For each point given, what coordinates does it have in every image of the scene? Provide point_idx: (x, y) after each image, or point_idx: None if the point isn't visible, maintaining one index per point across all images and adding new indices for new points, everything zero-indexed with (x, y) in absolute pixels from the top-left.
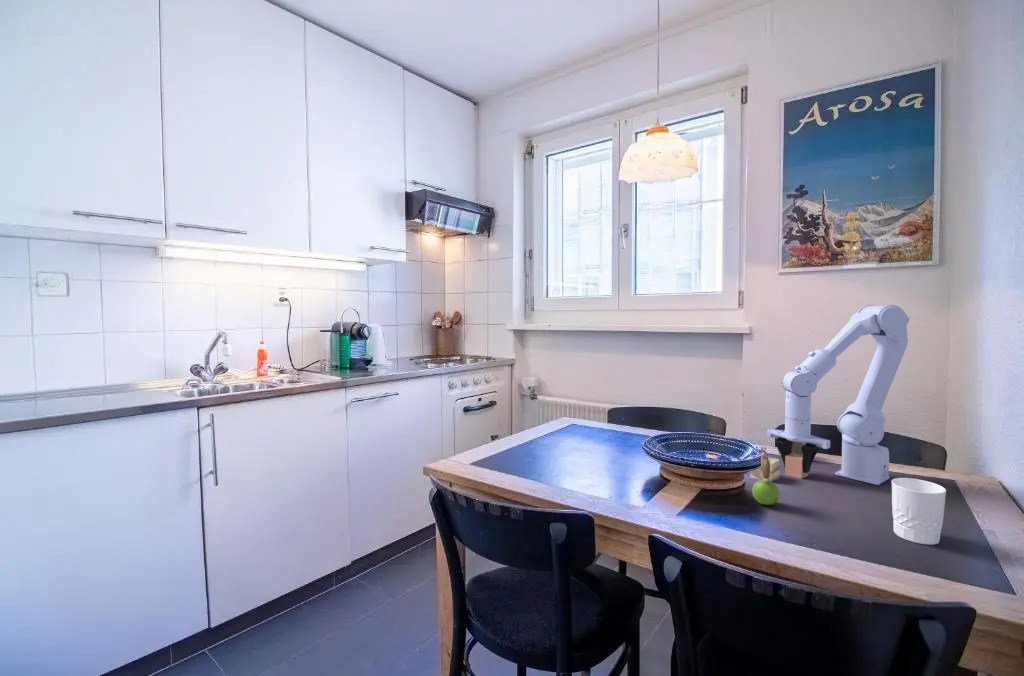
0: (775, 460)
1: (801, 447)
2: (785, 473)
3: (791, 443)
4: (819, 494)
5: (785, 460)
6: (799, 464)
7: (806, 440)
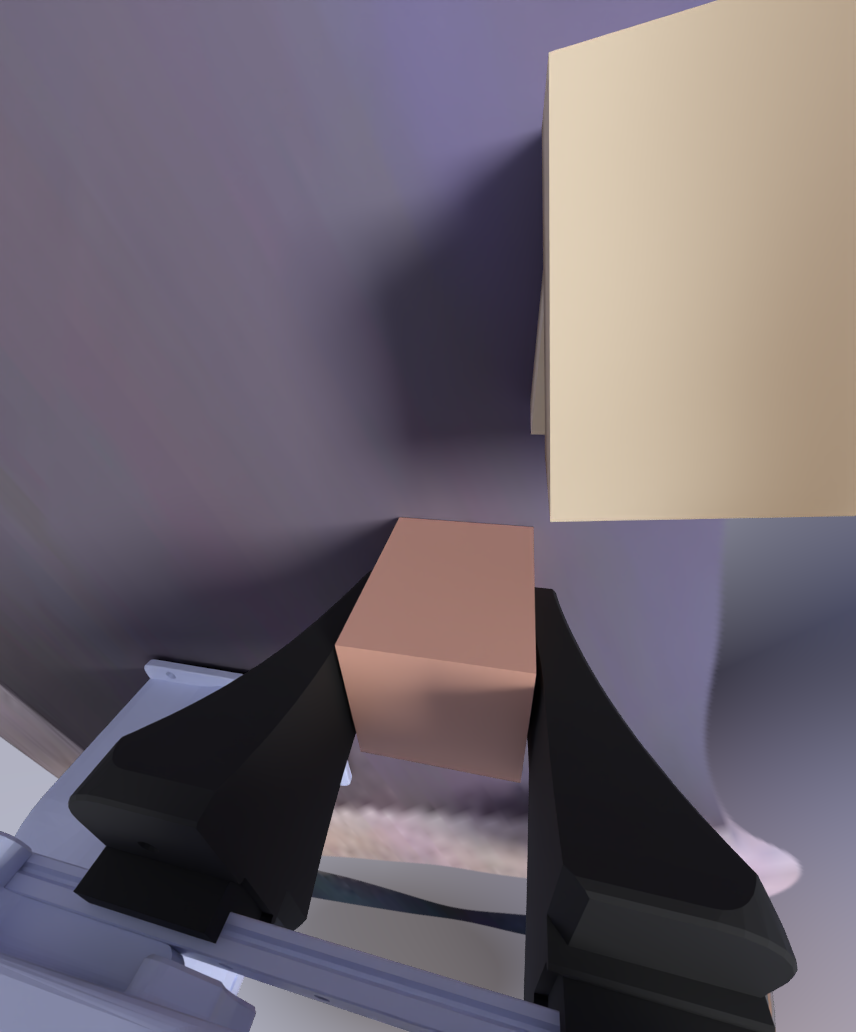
0: (587, 422)
1: (205, 808)
2: (529, 533)
3: (530, 928)
4: (100, 250)
5: (531, 623)
6: (378, 599)
7: (24, 1027)
